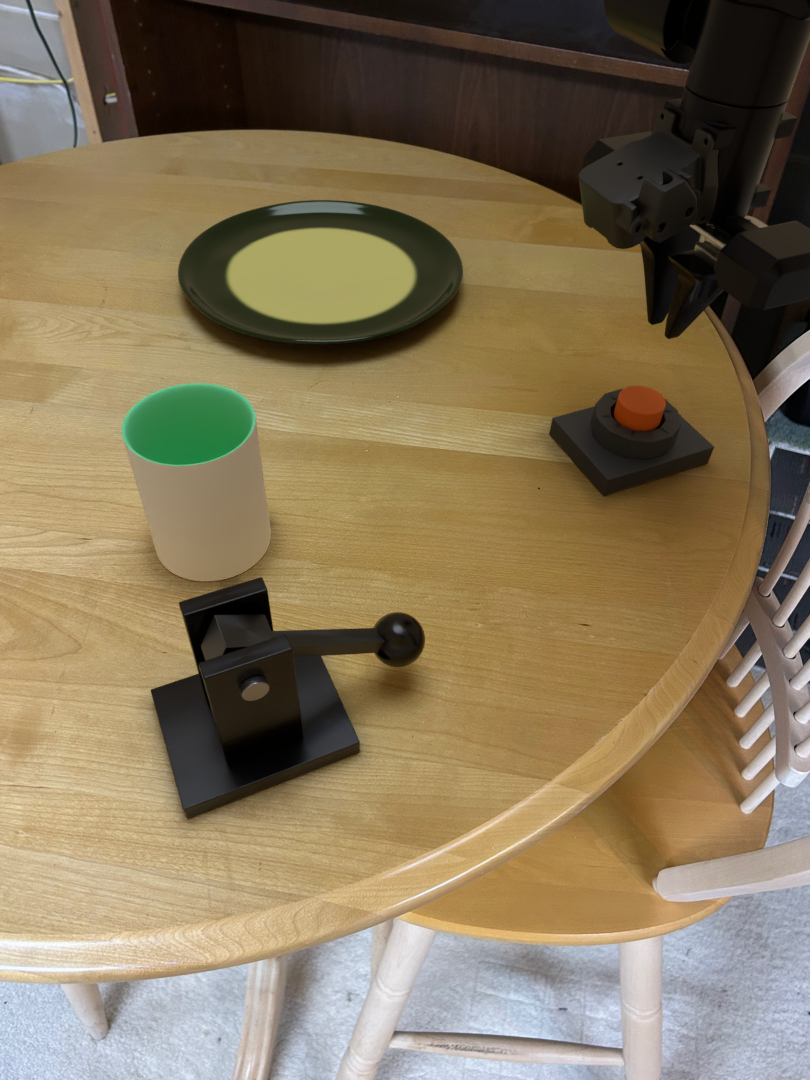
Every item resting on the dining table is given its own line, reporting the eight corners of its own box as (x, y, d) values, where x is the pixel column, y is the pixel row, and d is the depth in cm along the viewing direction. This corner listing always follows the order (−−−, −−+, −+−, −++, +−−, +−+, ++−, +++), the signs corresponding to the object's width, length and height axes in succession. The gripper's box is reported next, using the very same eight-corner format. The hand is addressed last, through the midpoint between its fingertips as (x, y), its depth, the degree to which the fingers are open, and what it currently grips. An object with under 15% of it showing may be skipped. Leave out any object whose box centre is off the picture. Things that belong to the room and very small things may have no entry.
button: (669, 425, 62) (675, 407, 61) (631, 436, 61) (636, 418, 60) (642, 399, 64) (647, 381, 63) (604, 409, 63) (609, 391, 62)
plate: (482, 360, 73) (485, 336, 71) (168, 370, 70) (162, 345, 68) (441, 217, 92) (443, 196, 90) (193, 221, 89) (189, 199, 87)
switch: (312, 646, 51) (303, 541, 44) (360, 752, 46) (358, 653, 39) (154, 700, 48) (116, 597, 41) (186, 819, 43) (150, 726, 36)
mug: (147, 473, 61) (116, 358, 54) (253, 456, 63) (237, 342, 55) (159, 591, 53) (124, 476, 46) (280, 568, 55) (265, 453, 48)
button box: (708, 463, 64) (722, 429, 62) (603, 496, 61) (613, 461, 59) (648, 405, 69) (659, 371, 66) (548, 433, 66) (556, 399, 63)
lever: (397, 636, 50) (419, 600, 48) (419, 676, 48) (443, 640, 46) (195, 643, 42) (213, 601, 40) (211, 692, 40) (231, 650, 38)
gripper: (530, 53, 49) (500, 287, 60) (732, 176, 37) (648, 436, 49) (679, 36, 52) (623, 261, 64) (905, 145, 41) (788, 394, 52)
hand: (663, 329), depth 57 cm, fingers closed
